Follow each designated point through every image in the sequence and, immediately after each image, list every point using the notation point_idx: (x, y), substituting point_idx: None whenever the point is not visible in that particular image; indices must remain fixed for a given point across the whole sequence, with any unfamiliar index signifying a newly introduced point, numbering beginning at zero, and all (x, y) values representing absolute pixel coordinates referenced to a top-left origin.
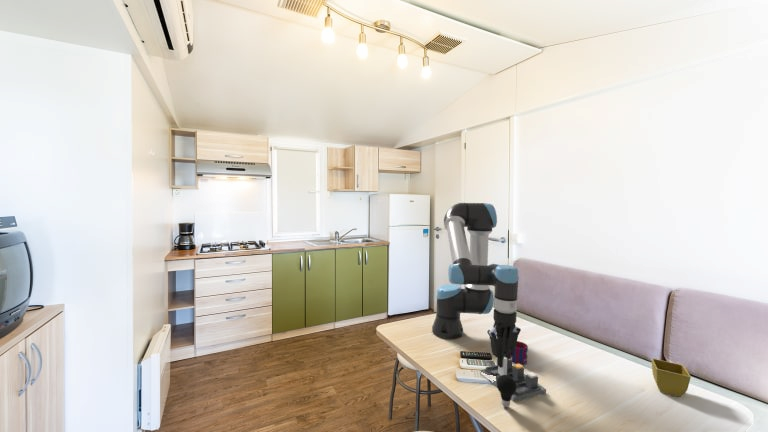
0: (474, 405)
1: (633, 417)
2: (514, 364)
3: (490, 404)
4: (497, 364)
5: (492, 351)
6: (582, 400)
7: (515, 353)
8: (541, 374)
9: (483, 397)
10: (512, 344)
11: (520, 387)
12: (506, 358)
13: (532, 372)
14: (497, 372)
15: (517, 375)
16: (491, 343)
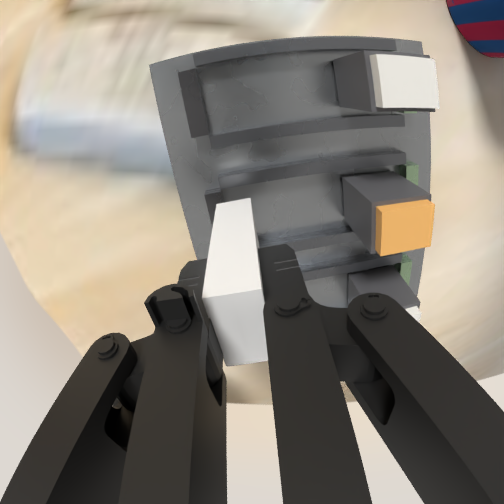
0: (59, 316)
1: (484, 365)
2: (390, 210)
3: (116, 323)
4: (183, 274)
5: (75, 382)
6: (468, 321)
7: (497, 19)
8: (499, 157)
9: (97, 283)
10: (411, 468)
11: (311, 280)
12: (267, 354)
13: (416, 316)
14: (249, 136)
15: (355, 231)
16: (24, 490)
